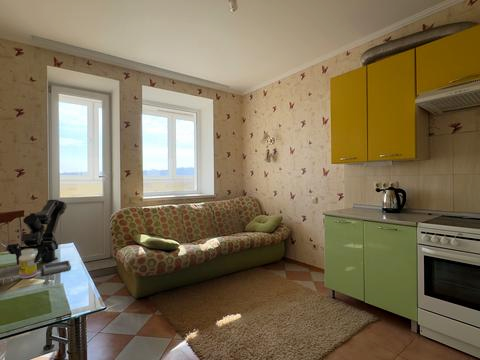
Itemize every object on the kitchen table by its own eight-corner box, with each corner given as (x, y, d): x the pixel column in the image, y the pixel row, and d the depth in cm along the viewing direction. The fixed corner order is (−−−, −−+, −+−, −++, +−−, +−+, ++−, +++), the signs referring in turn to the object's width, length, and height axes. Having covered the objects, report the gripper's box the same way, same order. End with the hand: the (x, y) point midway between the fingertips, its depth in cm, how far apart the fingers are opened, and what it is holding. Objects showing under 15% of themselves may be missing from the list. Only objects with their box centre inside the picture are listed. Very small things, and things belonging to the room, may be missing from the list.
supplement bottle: (16, 277, 126) (15, 250, 125) (32, 272, 131) (31, 247, 131) (23, 280, 122) (22, 252, 122) (39, 274, 128) (38, 248, 128)
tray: (43, 268, 138) (43, 264, 138) (68, 263, 145) (68, 260, 145) (44, 274, 129) (43, 271, 129) (71, 269, 136) (70, 266, 136)
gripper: (7, 227, 127) (-6, 257, 117) (52, 225, 132) (43, 253, 122) (16, 239, 135) (5, 268, 125) (58, 236, 140) (51, 264, 130)
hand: (26, 263), depth 125 cm, fingers closed on supplement bottle, 7 cm apart
